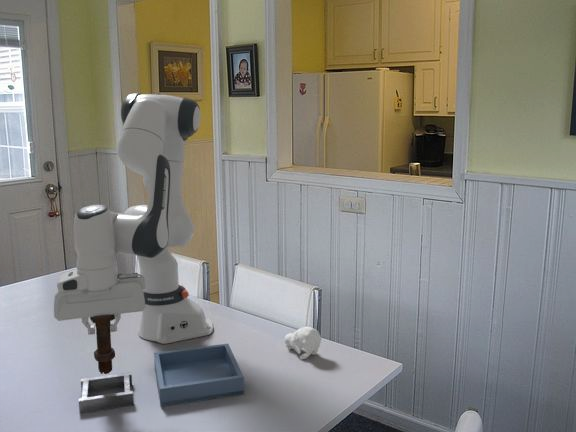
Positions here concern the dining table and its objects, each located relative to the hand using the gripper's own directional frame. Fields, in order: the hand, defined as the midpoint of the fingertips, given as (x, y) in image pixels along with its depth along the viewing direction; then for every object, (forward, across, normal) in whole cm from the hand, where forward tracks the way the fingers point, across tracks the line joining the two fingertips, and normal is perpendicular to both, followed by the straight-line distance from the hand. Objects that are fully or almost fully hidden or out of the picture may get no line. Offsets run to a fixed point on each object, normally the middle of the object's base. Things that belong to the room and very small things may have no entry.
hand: (102, 332), depth 135 cm
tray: (+17, -22, -2) cm, 28 cm away
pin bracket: (+17, 0, 0) cm, 17 cm away
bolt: (+10, 0, 0) cm, 10 cm away
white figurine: (+18, -52, -9) cm, 56 cm away
